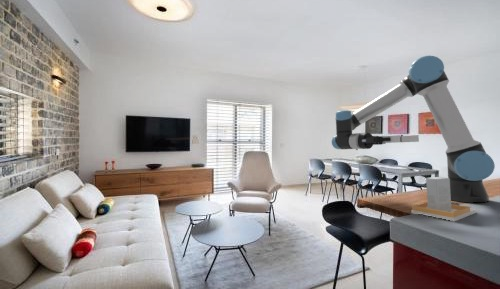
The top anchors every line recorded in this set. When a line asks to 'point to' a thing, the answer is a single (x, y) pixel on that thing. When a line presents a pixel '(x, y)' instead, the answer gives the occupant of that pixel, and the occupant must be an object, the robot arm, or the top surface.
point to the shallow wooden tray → (453, 215)
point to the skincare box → (438, 193)
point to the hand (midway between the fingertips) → (409, 138)
